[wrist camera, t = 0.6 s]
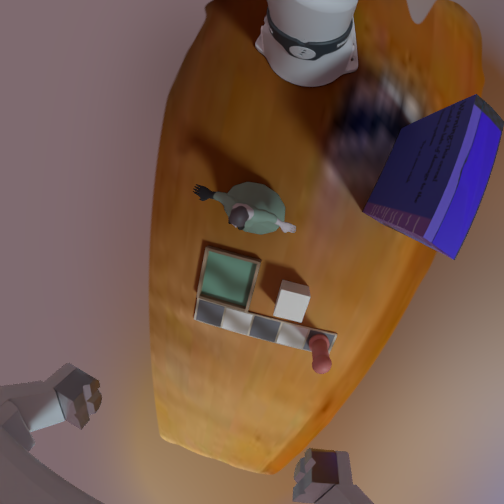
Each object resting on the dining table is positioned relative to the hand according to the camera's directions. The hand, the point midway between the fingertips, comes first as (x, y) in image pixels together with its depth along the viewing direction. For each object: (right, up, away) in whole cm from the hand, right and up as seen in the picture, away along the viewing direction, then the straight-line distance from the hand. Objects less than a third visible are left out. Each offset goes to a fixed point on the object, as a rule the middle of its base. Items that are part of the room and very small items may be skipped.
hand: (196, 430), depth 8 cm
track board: (+4, -8, +44) cm, 45 cm away
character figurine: (+2, +15, +39) cm, 42 cm away
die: (+9, -1, +42) cm, 43 cm away
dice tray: (-2, +2, +43) cm, 43 cm away
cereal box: (+27, +20, +34) cm, 48 cm away
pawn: (+15, -11, +43) cm, 47 cm away
